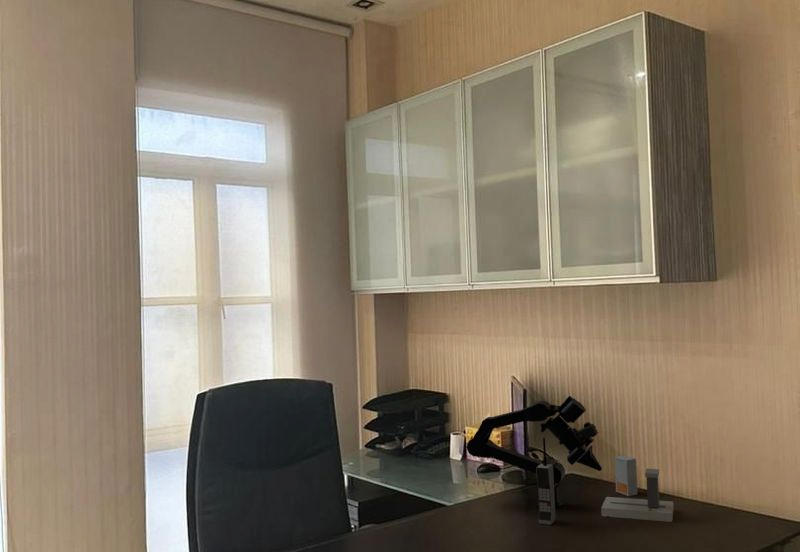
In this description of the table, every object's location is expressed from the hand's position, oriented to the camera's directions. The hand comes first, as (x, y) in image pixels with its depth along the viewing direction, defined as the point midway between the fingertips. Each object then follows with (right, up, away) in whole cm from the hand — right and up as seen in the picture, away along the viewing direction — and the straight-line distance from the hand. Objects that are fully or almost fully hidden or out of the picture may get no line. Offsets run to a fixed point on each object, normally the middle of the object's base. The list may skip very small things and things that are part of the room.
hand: (601, 469), depth 221 cm
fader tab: (+14, -9, -6) cm, 18 cm away
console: (+10, -12, -4) cm, 16 cm away
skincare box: (+13, -13, +16) cm, 25 cm away
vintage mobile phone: (-19, -13, -9) cm, 25 cm away
